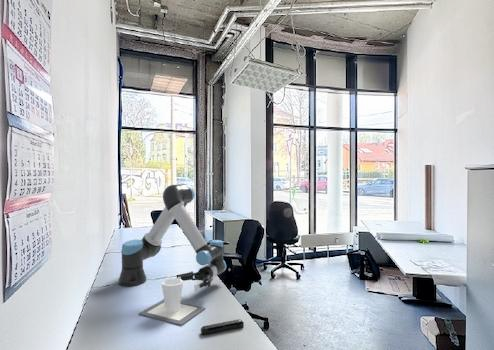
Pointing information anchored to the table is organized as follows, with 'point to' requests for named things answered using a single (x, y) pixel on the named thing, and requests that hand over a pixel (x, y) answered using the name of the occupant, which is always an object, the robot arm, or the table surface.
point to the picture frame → (176, 318)
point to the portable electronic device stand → (222, 327)
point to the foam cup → (172, 294)
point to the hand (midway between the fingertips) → (183, 285)
